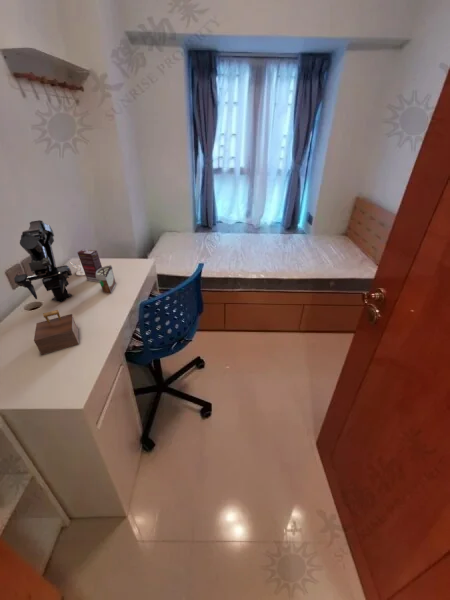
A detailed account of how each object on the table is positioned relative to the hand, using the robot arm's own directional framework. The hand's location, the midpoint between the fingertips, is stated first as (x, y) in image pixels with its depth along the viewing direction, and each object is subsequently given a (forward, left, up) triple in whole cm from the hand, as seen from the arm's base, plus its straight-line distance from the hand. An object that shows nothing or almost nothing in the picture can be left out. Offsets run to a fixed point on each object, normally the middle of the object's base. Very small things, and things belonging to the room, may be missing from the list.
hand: (49, 295), depth 109 cm
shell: (-28, +39, -13) cm, 49 cm away
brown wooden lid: (+9, -8, -7) cm, 14 cm away
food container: (-2, +29, -14) cm, 32 cm away
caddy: (+9, -8, -13) cm, 18 cm away
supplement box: (-15, +35, -14) cm, 40 cm away
